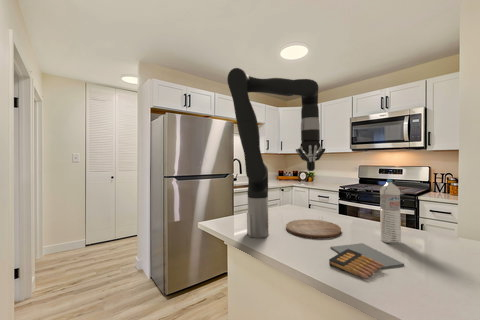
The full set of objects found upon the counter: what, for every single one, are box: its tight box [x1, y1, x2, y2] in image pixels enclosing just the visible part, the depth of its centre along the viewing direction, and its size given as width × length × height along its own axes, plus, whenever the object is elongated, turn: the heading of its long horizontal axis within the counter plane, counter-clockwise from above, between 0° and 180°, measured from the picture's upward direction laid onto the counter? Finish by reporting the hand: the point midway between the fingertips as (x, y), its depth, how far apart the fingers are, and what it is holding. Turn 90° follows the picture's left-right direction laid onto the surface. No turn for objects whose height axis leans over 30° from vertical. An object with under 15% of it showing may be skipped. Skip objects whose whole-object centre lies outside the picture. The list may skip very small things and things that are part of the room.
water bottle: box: [379, 179, 402, 245], centre depth 92 cm, size 7×7×25 cm
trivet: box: [285, 218, 342, 240], centre depth 109 cm, size 25×25×2 cm
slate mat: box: [330, 242, 405, 270], centre depth 79 cm, size 14×18×1 cm
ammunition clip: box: [328, 249, 384, 279], centre depth 71 cm, size 11×2×12 cm
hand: (310, 170), depth 96 cm, fingers closed
